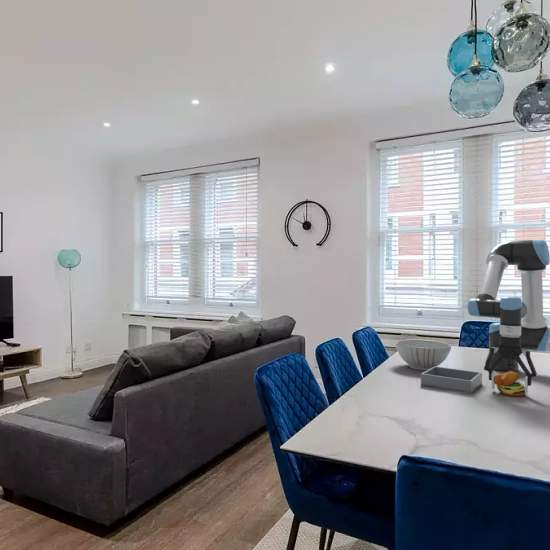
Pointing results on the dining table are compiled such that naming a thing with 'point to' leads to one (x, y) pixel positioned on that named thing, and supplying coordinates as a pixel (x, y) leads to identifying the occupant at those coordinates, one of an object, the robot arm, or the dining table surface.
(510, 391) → the cheeseburger
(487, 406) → the dining table surface
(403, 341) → the decorative bowl
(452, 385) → the bin
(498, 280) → the robot arm
